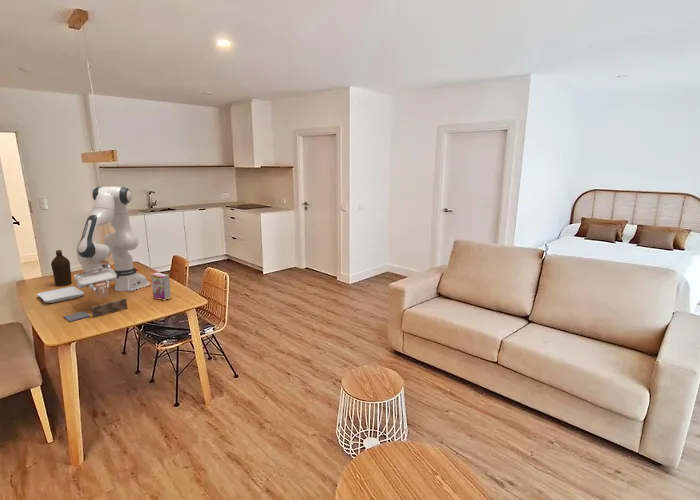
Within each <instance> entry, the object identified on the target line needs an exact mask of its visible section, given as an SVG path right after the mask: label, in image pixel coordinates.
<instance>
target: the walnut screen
mask: <svg viewBox="0 0 700 500" xmlns="http://www.w3.org/2000/svg"><path fill="white" fill-rule="evenodd" d="M123 309H124V310H127V309H128V303H127V299H126V298H121V299H117V300H113V301H110V302H105V303H101V304H98V305H94V306H91V314H92V315H91V316H92V317H93V318H98V317H101V316H105V315H108V314H112V313H115V312H116V313H117V312H119V311H124V310H123Z"/></svg>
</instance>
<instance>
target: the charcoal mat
mask: <svg viewBox="0 0 700 500" xmlns="http://www.w3.org/2000/svg"><path fill="white" fill-rule="evenodd" d="M63 318H64V320H66V321H67V322H69V323H72V322H75V321H81V320H83V319H87V318H91V315H90V314H88V313H87V312H86V311H84V310H83V311H79V312H74V313H72V314H67V315H63Z"/></svg>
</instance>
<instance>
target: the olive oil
mask: <svg viewBox="0 0 700 500" xmlns="http://www.w3.org/2000/svg"><path fill="white" fill-rule="evenodd" d="M55 254H56V255H55V257H54V258H53V259H52V260H51V263H50V267H51V270H52V274H53V279H54V284H55V286H56V287H68V286H70V285H72V284H73V283H72V273H71V261H70V260H69V259H68V258H67V257H66V256H64V255H63V251H62V249H57V250H55Z"/></svg>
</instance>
